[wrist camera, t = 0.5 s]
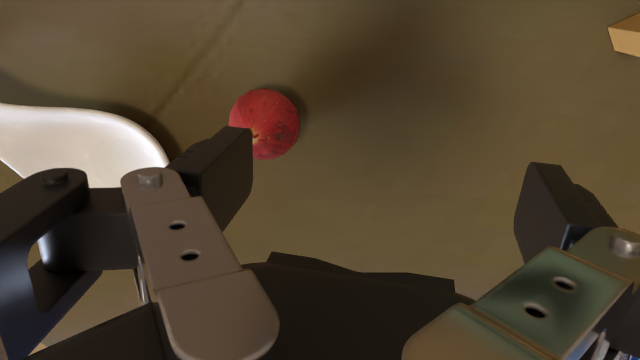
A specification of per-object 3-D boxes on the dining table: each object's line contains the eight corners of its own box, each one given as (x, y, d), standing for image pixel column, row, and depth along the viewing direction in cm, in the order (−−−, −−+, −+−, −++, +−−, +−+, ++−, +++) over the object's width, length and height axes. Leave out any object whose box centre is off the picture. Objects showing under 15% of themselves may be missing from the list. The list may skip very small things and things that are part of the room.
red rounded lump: (312, 91, 41) (297, 114, 34) (297, 151, 44) (280, 184, 36) (249, 73, 42) (220, 91, 34) (237, 134, 44) (207, 163, 36)
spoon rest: (204, 146, 45) (173, 173, 38) (154, 235, 49) (119, 273, 42) (-24, 2, 42) (-100, 4, 36) (-56, 109, 47) (-128, 129, 40)
